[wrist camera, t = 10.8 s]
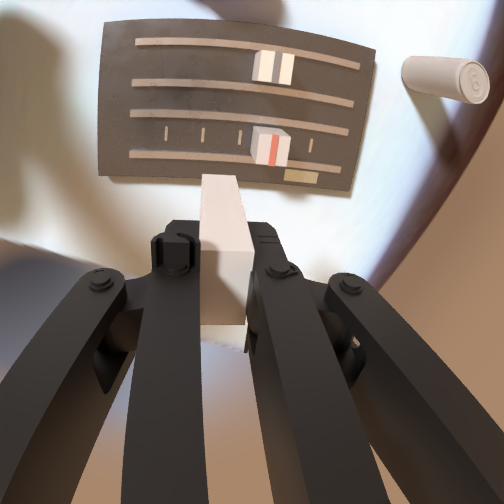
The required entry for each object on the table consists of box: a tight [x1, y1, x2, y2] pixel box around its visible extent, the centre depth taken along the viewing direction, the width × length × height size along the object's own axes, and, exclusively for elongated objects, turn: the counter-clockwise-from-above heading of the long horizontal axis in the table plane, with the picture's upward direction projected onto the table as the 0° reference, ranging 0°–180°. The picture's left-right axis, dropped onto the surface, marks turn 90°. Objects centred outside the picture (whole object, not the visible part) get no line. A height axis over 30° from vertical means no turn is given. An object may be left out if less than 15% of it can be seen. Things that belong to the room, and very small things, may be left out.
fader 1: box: [252, 50, 295, 85], centre depth 27 cm, size 3×3×5 cm
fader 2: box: [250, 126, 291, 167], centre depth 31 cm, size 3×3×5 cm
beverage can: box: [401, 56, 490, 104], centre depth 27 cm, size 5×5×12 cm
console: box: [98, 19, 376, 191], centre depth 32 cm, size 30×18×3 cm, turn 83°
